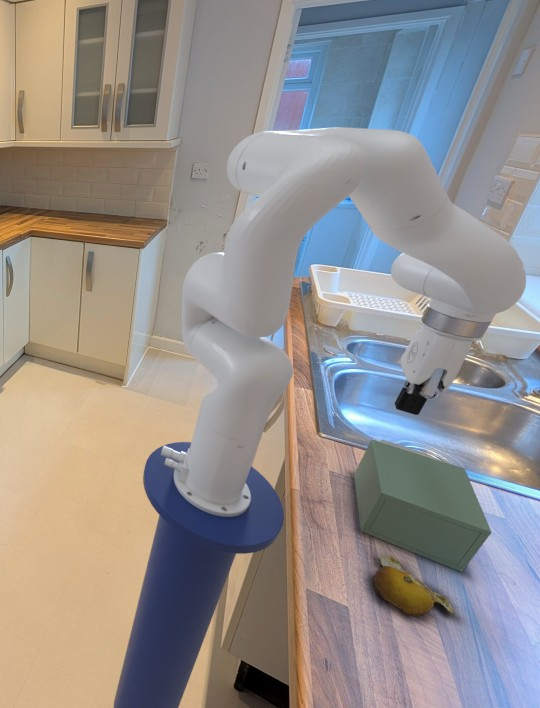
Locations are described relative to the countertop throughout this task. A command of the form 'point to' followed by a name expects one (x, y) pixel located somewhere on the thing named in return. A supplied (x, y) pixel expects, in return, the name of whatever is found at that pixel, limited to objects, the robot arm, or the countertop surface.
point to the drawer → (407, 449)
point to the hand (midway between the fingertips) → (405, 409)
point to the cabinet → (419, 505)
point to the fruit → (405, 589)
